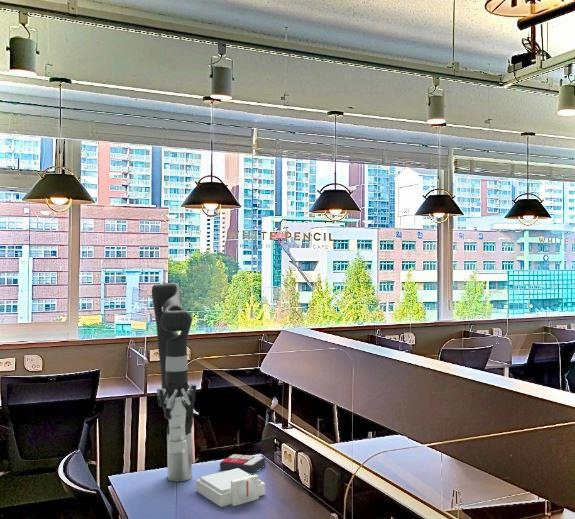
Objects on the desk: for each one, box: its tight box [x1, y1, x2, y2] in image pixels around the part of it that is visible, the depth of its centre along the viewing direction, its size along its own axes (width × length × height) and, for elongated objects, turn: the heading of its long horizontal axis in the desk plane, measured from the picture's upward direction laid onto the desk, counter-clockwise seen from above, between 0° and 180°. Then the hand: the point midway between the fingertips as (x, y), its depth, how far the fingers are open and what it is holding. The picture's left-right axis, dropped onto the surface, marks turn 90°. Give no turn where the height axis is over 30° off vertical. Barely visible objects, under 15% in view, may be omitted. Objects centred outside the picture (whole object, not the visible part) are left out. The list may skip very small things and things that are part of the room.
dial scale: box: [195, 468, 266, 507], centre depth 212 cm, size 21×18×8 cm
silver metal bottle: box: [168, 396, 187, 455], centre depth 205 cm, size 6×7×20 cm
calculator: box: [219, 453, 266, 475], centre depth 240 cm, size 11×4×15 cm
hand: (177, 417), depth 205 cm, fingers closed on silver metal bottle, 6 cm apart
